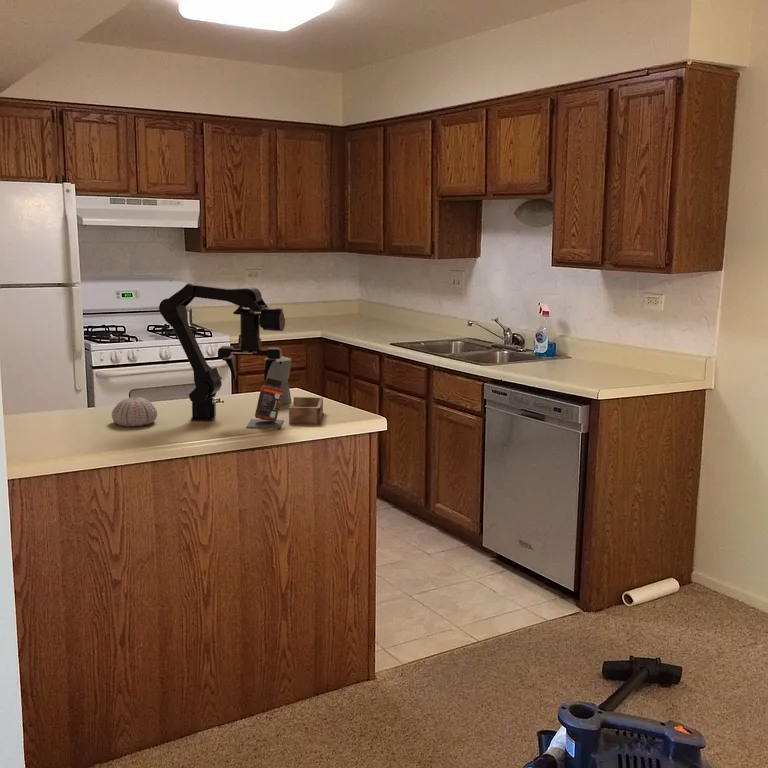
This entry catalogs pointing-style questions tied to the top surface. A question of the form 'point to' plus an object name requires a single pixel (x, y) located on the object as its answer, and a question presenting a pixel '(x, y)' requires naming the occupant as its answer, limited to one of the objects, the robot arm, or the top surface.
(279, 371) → the coffeepot
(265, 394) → the supplement bottle
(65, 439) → the top surface
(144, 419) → the sea urchin shell
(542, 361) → the top surface
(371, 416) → the top surface
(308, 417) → the crate
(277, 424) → the mat
